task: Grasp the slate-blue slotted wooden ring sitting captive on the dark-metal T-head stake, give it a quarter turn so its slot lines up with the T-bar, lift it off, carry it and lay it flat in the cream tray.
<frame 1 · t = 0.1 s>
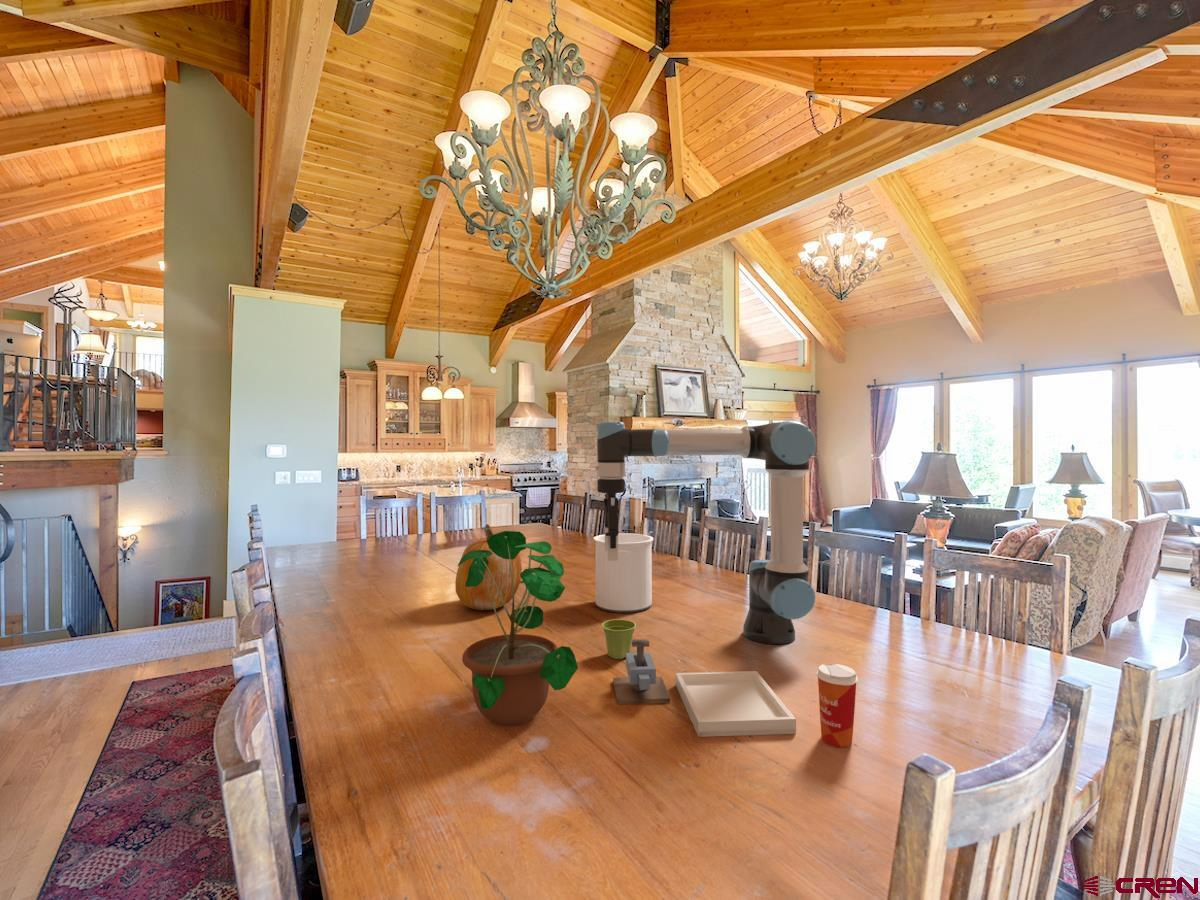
hand: (611, 555, 156), 28 cm above the table, fingers open, 13 cm apart
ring: (640, 675, 134), point 4 cm above the table, touching stake
plant pot: (618, 656, 157), on the table
potted plant: (527, 714, 123), on the table
bucket: (623, 605, 205), on the table
paper cup: (836, 741, 112), on the table
pumpkin: (490, 606, 204), on the table
tray: (730, 707, 126), on the table
stake: (640, 691, 134), on the table
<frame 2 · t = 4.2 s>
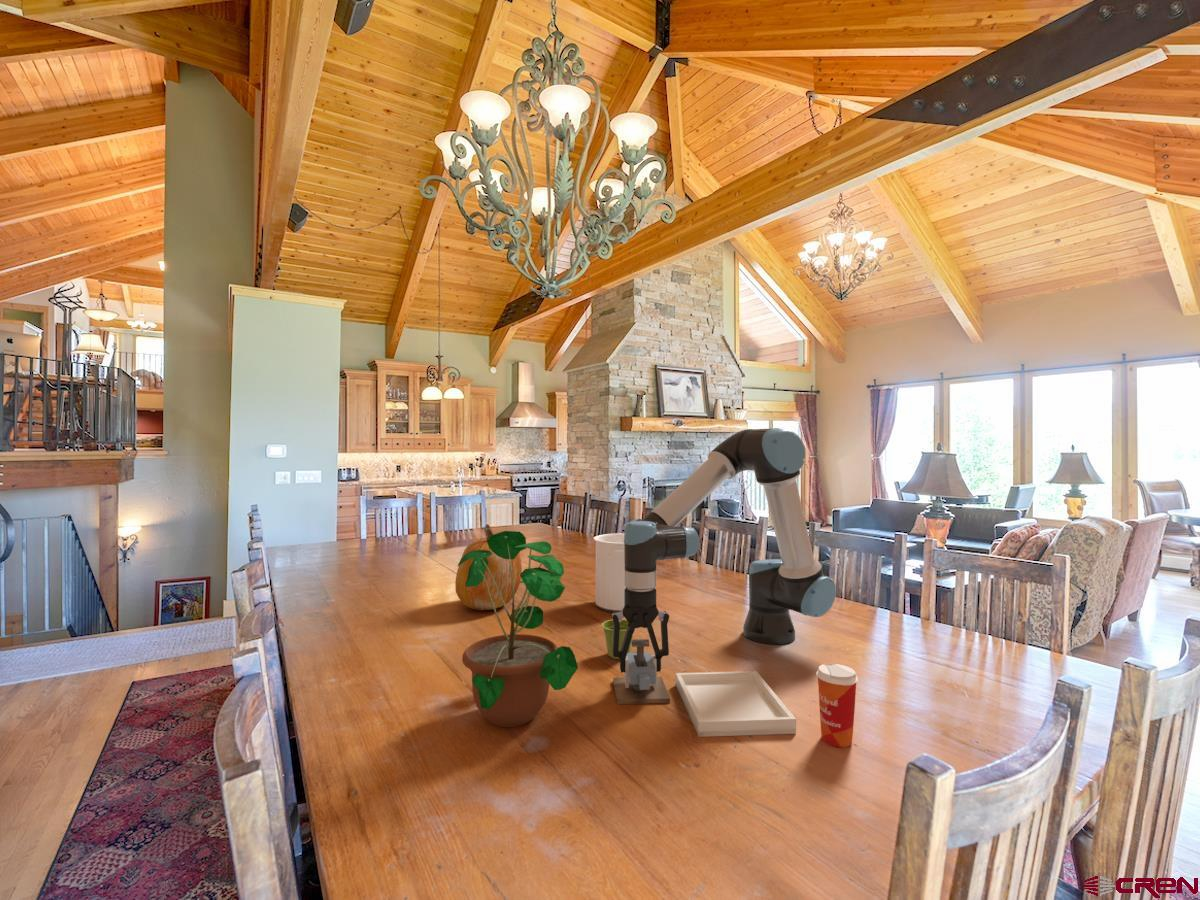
hand: (640, 684, 134), 2 cm above the table, fingers closed on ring, 6 cm apart
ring: (640, 675, 134), point 4 cm above the table, touching gripper, stake
everything else where it was.
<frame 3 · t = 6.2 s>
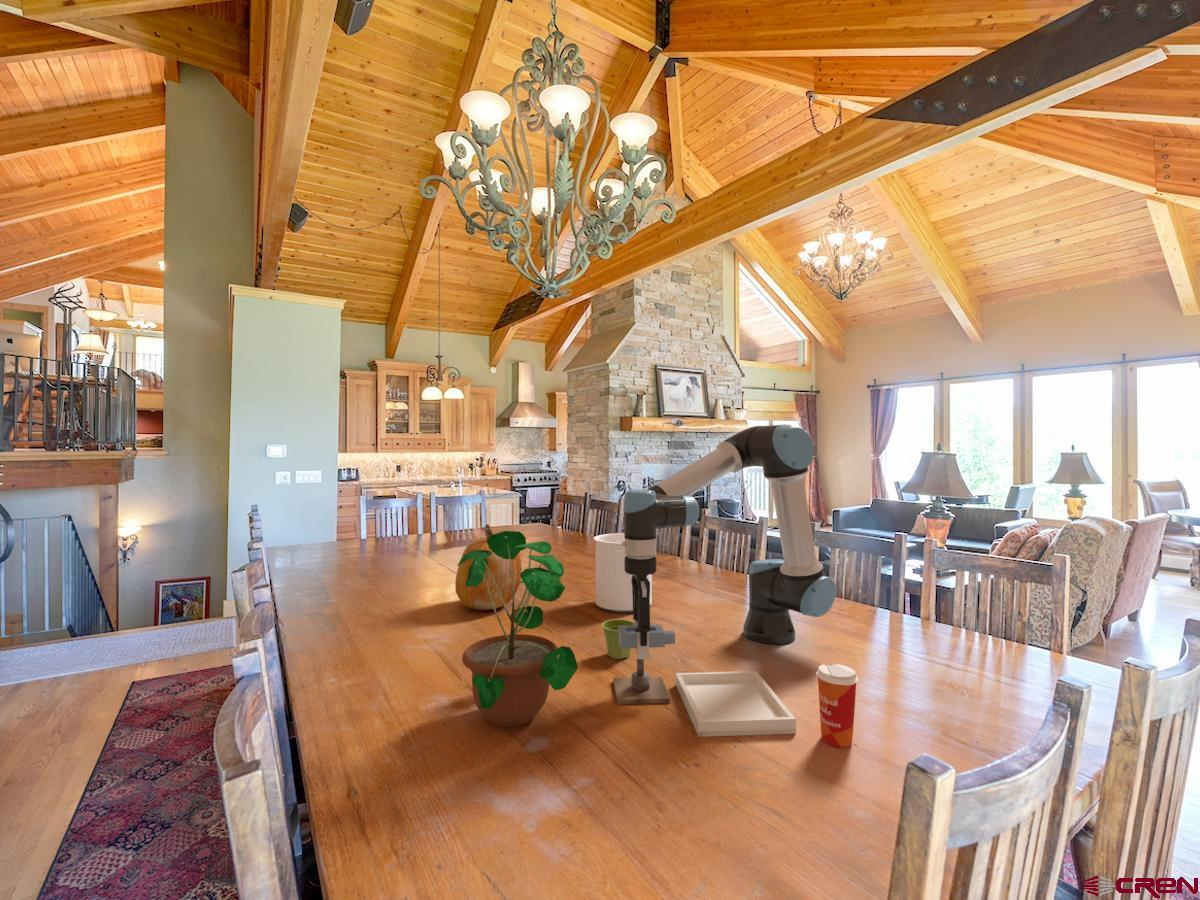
hand: (641, 653, 134), 9 cm above the table, fingers closed on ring, 6 cm apart
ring: (641, 643, 134), point 11 cm above the table, touching gripper
everything else where it was.
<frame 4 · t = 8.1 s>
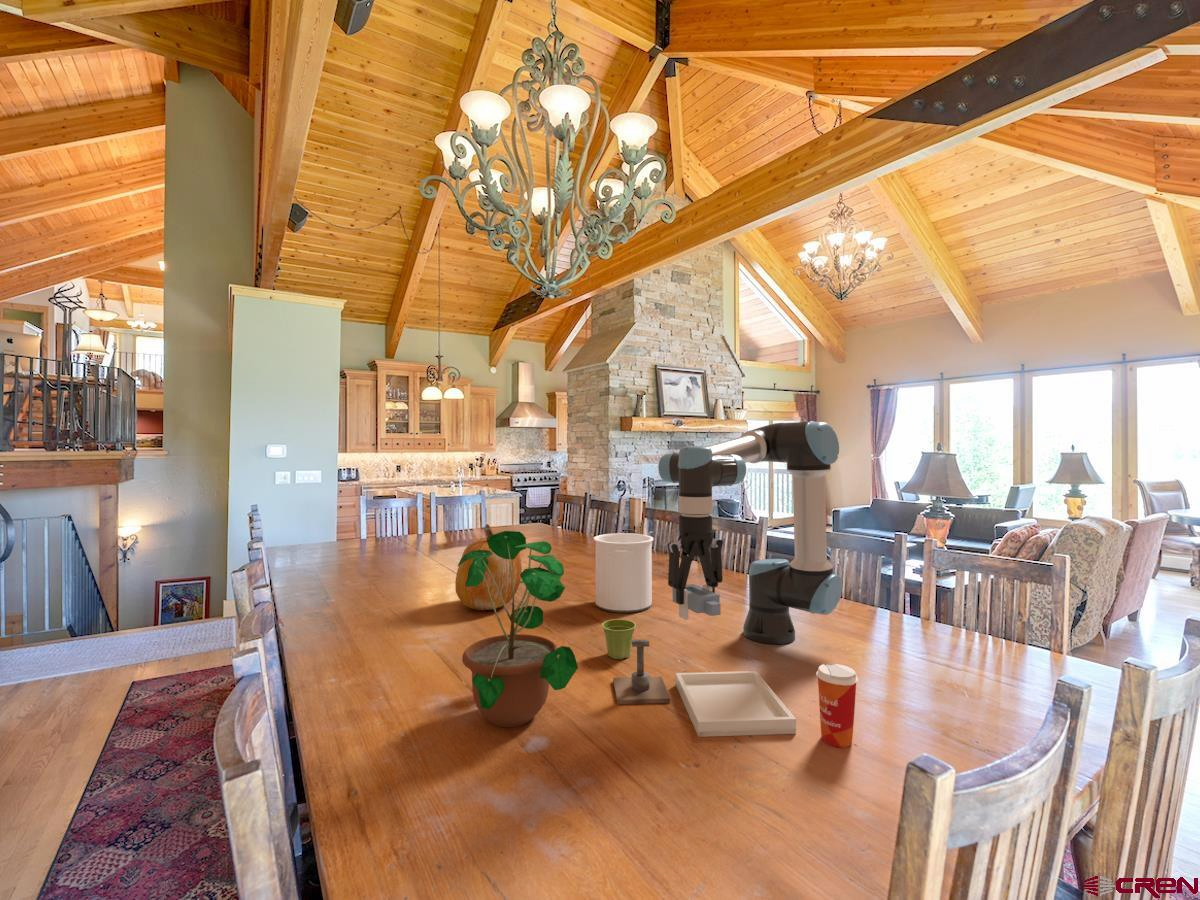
hand: (695, 615, 129), 20 cm above the table, fingers closed on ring, 6 cm apart
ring: (695, 605, 129), point 22 cm above the table, touching gripper
everything else where it was.
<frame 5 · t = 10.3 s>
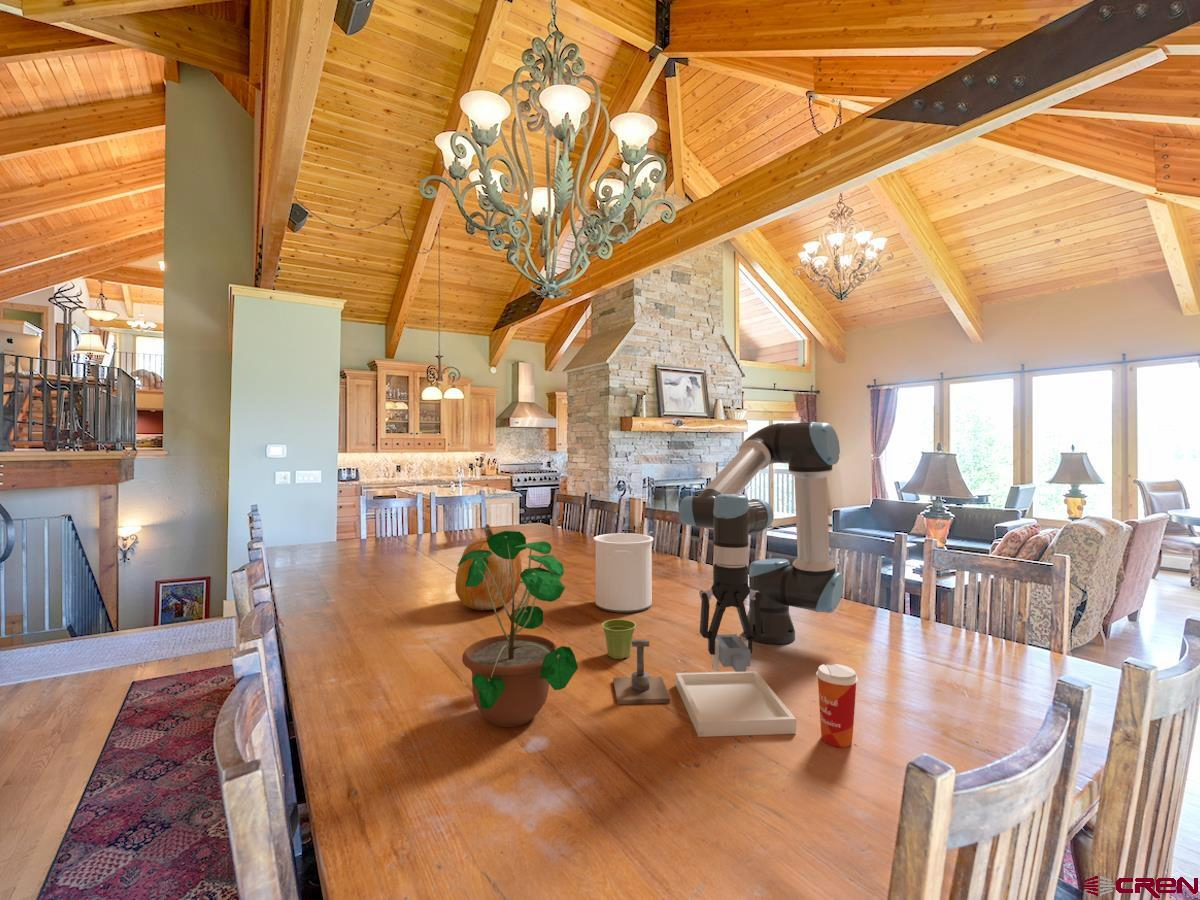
hand: (730, 667, 126), 9 cm above the table, fingers closed on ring, 6 cm apart
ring: (730, 657, 126), point 11 cm above the table, touching gripper
everything else where it was.
when the fingers open (2 cm above the table, at t = 12.2 s): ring drops 3 cm, resting on tray.
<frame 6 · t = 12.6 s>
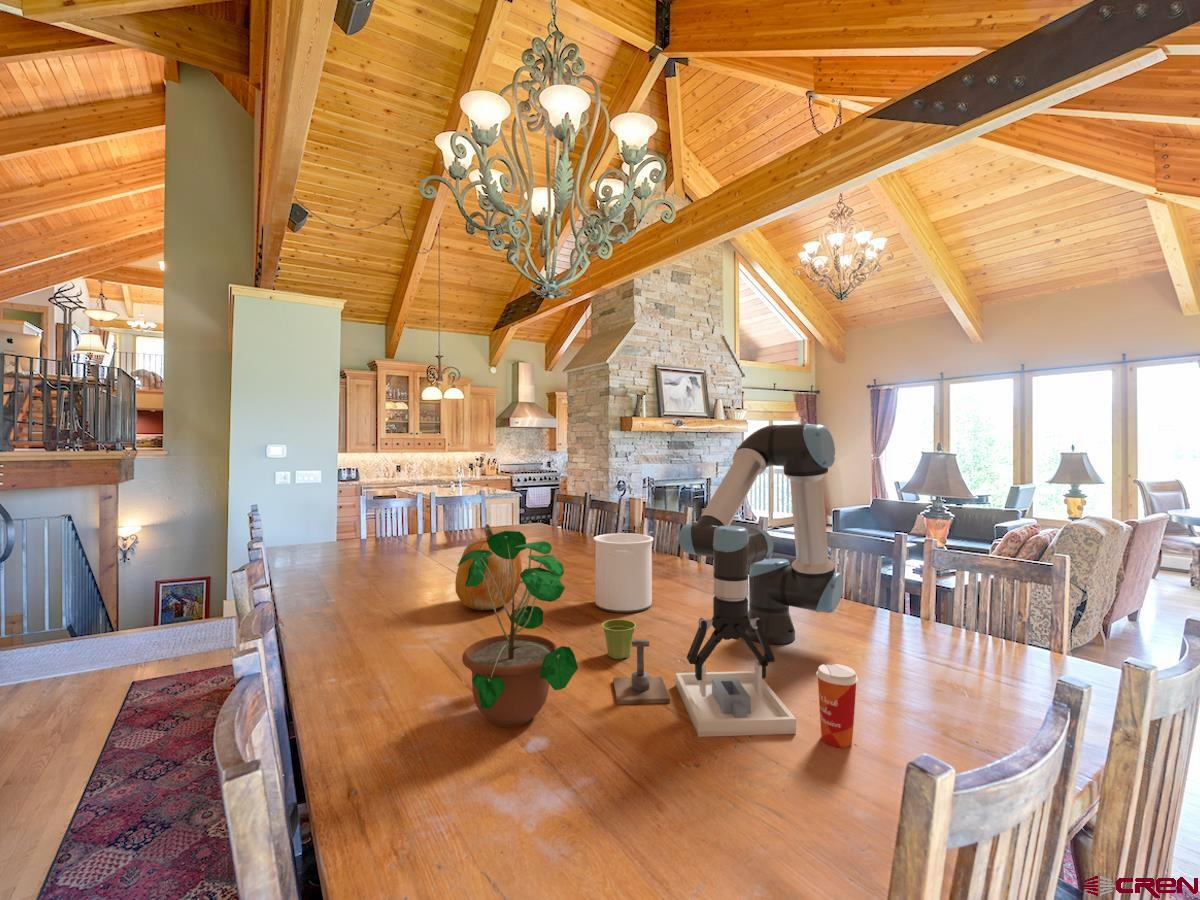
hand: (730, 693, 126), 3 cm above the table, fingers open, 12 cm apart
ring: (730, 702, 126), point 1 cm above the table, touching tray
everything else where it was.
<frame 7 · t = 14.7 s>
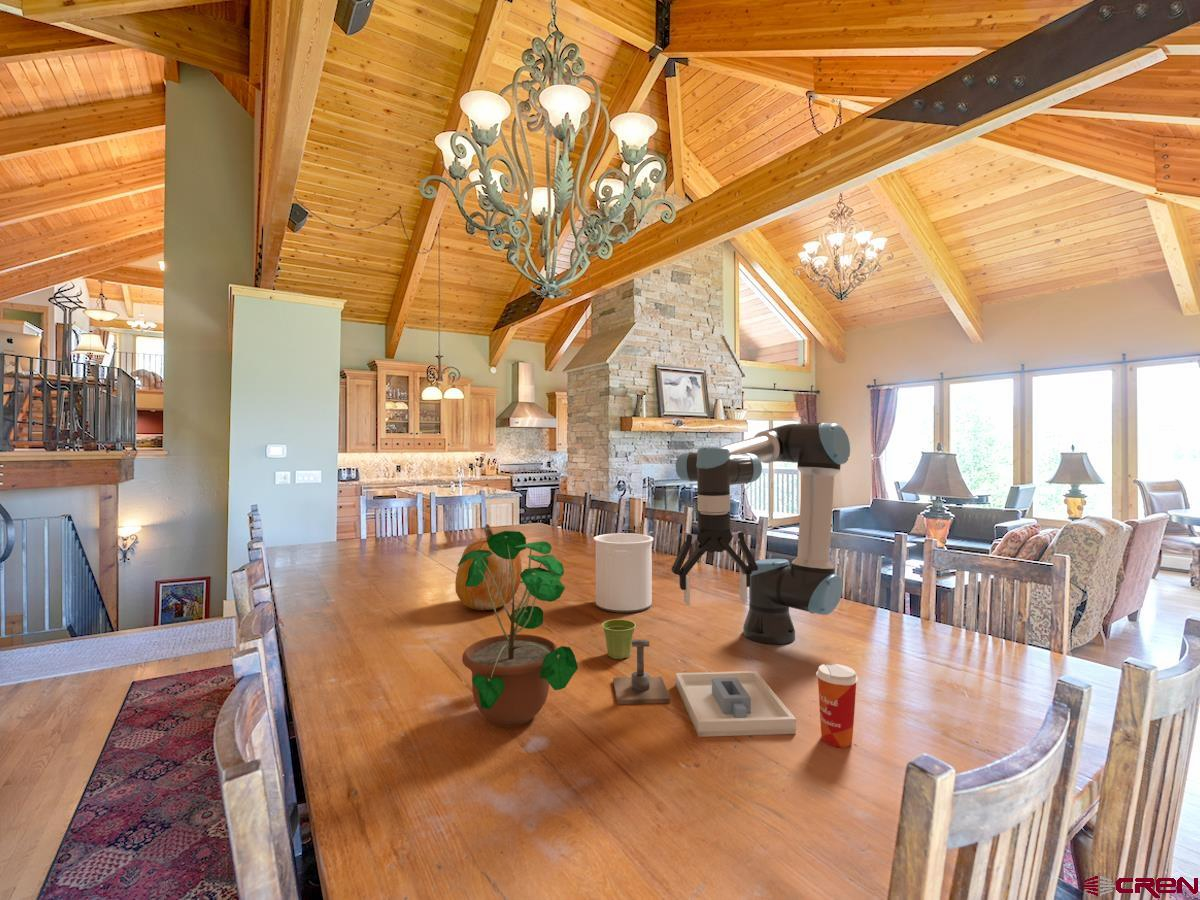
hand: (715, 601, 134), 21 cm above the table, fingers open, 13 cm apart
nothing on the table moved.
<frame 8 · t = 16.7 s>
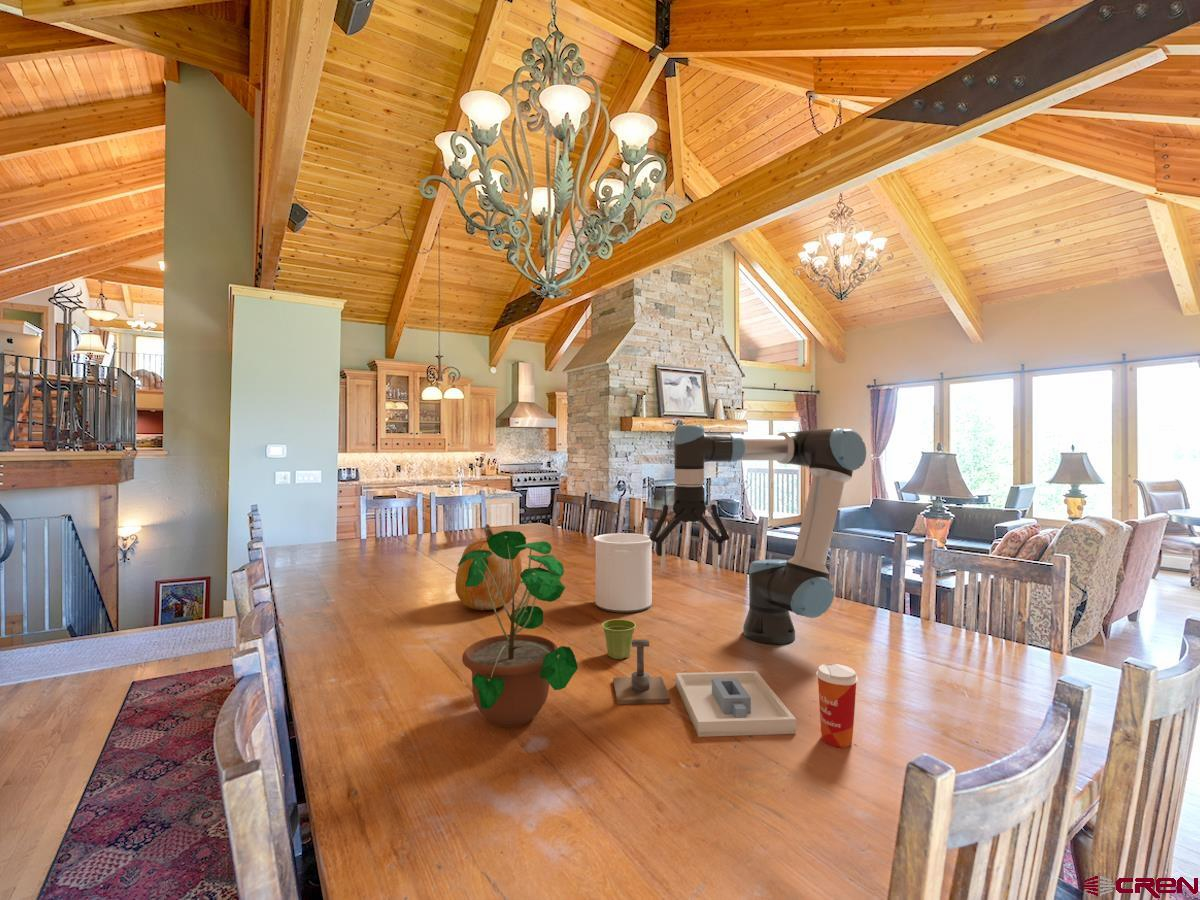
hand: (689, 568, 145), 27 cm above the table, fingers open, 13 cm apart
nothing on the table moved.
at the end: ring inside the target area on the tray (0.0 cm from its centre), point 1.0 cm above the tray's base; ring tilted 0°; the gripper is holding nothing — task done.
